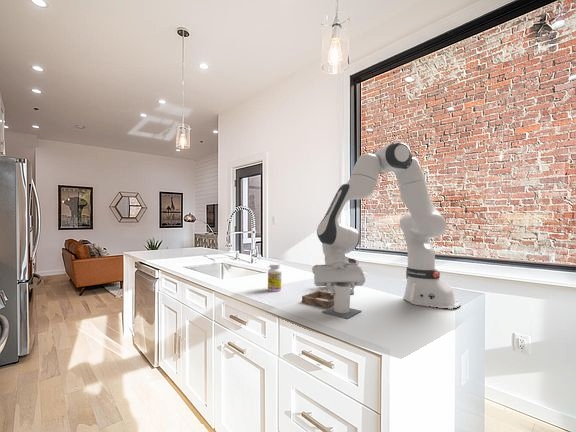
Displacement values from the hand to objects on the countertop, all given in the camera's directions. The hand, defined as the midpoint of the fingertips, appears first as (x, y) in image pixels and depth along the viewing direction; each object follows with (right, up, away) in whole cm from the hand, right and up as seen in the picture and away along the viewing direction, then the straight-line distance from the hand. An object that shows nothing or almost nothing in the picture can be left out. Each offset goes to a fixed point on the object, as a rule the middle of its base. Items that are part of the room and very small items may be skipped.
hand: (342, 294), depth 116 cm
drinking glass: (0, -7, +1) cm, 7 cm away
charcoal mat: (0, -7, +1) cm, 7 cm away
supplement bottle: (-27, -7, +34) cm, 44 cm away
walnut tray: (-6, -7, +14) cm, 17 cm away
